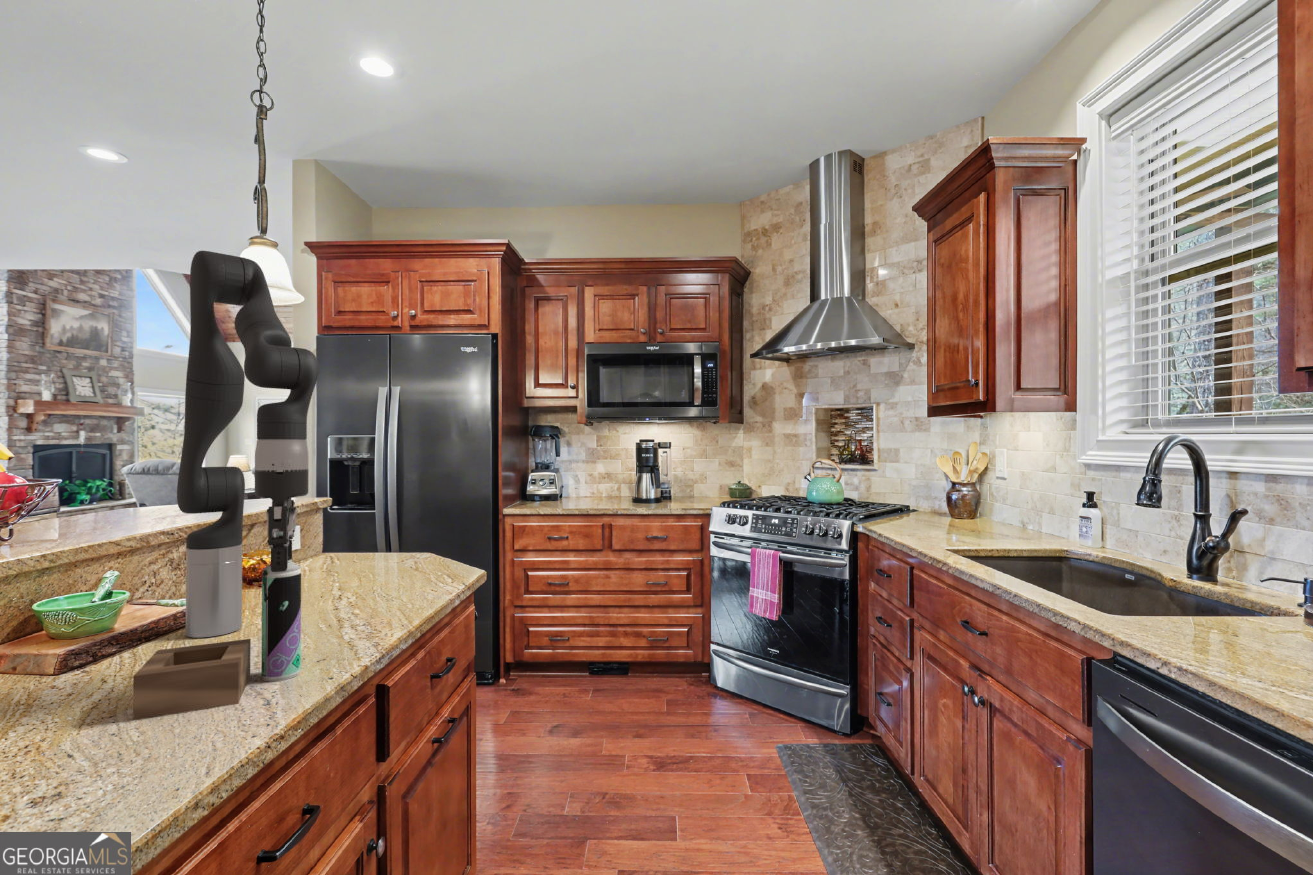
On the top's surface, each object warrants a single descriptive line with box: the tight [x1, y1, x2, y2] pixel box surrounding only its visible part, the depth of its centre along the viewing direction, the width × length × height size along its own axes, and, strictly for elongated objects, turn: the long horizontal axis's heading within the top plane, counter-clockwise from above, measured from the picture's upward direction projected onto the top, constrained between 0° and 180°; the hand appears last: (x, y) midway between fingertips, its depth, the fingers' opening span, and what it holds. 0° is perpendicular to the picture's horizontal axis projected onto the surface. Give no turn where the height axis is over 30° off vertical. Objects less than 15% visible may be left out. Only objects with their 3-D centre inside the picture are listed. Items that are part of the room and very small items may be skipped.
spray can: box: [260, 557, 302, 683], centre depth 100 cm, size 6×6×20 cm
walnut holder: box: [132, 638, 251, 721], centre depth 92 cm, size 12×12×6 cm
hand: (281, 566), depth 100 cm, fingers open, 8 cm apart
